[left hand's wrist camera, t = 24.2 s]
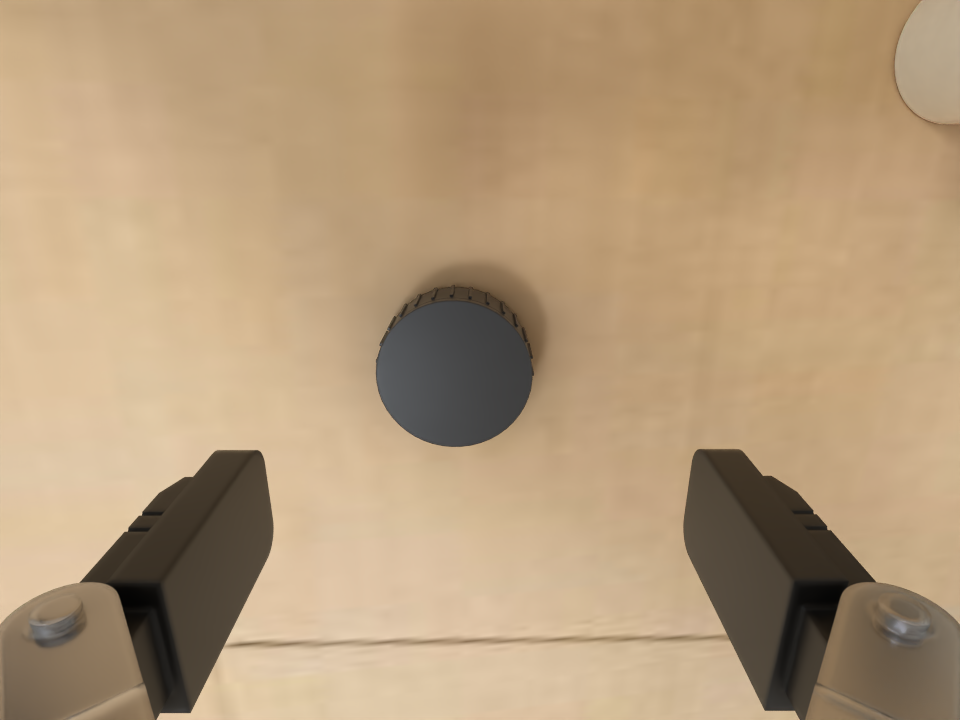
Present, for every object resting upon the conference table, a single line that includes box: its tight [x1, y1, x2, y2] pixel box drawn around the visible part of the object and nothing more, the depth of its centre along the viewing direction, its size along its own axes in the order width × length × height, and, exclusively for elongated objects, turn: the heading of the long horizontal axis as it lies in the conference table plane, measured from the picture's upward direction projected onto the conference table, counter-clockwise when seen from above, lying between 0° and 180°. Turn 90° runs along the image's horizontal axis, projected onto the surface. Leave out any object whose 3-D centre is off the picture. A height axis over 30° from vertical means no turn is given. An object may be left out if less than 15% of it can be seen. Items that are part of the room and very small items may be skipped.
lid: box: [376, 285, 534, 447], centre depth 21 cm, size 5×6×2 cm
